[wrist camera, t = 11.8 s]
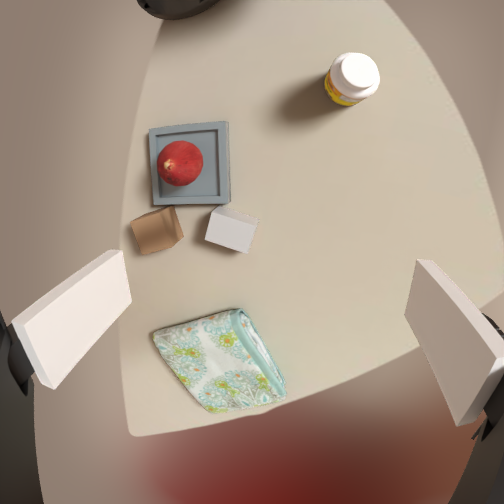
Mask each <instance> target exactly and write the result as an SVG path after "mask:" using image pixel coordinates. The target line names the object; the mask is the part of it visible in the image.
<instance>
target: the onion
mask: <svg viewBox="0 0 504 504" xmlns="http://www.w3.org/2000/svg"><path fill="white" fill-rule="evenodd" d="M202 168H203V156H202V154H201V151H200V149H199V148H198V147H196V146H195V145H194V144H193V143H190V142H187V141H183V140H182V141H174V142H172V143H170V144H168V145H166V146H165V147H164V148H163V149H162V151H161V152H160V153H159V156H158V159H157V170H158V173H159V175H160V177H161V178H162V179H163V180H164V181H165V182H166V183H168V184H170V185H173V186H186V185H188V184H190V183H192V182H193V181H195V180H196V178H197V177H198V176H199V175H200V173H201V171H202Z"/></svg>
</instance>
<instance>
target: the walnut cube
mask: <svg viewBox="0 0 504 504" xmlns="http://www.w3.org/2000/svg"><path fill="white" fill-rule="evenodd" d="M130 224H131V226H132V229H133V232H134V235H135V237H136V240H137V243H138V246H139V248H140V251H141V253H142V255H144V254H148V253H151V252H155V251H159V250H163V249H167V248H171V247H172V246H174V245H175V244H176V243H177V242H178V241H179V240H180V239H181V238H183V237H184V235H183V232H182V229H181V227H180V224H179V221H178V218H177V215H176V212H175V209H174V206H173V205H171V206H168V207H165V208H162V209H159V210H156V211H152V212H149V213H146V214H144V215H142V216H140V217H139V218H137V219H135V220H133V221H131V222H130Z"/></svg>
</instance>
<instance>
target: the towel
mask: <svg viewBox="0 0 504 504" xmlns="http://www.w3.org/2000/svg"><path fill="white" fill-rule="evenodd" d="M153 341H154V343H155V346H156V347H157V348H158V349H159V352H160V354H161V356H162V358H163V359H164V360H165V362H166V363H167V364H168V365H169V366H170V368H171V369H172V370H173V372H174V373H175V374H176V375H177V377H178V378H179V379H180V381H181V382H182V383H183V385H184V386H185V387H186V388H187V390H188V391H189V392H190V393H191V394H192V395H193V397H194V398H195V399H196V400H197V401H198V402H199V403H200V404H201V405H202V406H203V408H204V409H205V410H207V411H208V412H210V413H224V412H230V411H236V410H242V409H247V408H252V407H256V406H262V405H267V404H272V403H276V402H281V401H283V400H284V399H285V396H286V395H287V392H286V391H285V386H284V385H286V382H285V380H284V378H283V376H282V374H281V372H280V370H279V368H278V367H277V365H276V363H275V362H274V360H273V358H272V356H271V355H270V353H269V351H268V349H267V347H266V345H265V344H264V342H263V340H262V338H261V336H260V335H259V333H258V331H257V329H256V327H255V326H254V324H253V322H252V321H251V319H250V318H249V316H248V315H247V313H246V312H245V311H244V310H243V309H236V310H230V311H225V312H221V313H218V314H215V315H211V316H208V317H205V318H201V319H198V320H195V321H191V322H188V323H185V324H181V325H177V326H173V327H169V328H164V329H161V330H158V331H156V332H154V334H153Z"/></svg>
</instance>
